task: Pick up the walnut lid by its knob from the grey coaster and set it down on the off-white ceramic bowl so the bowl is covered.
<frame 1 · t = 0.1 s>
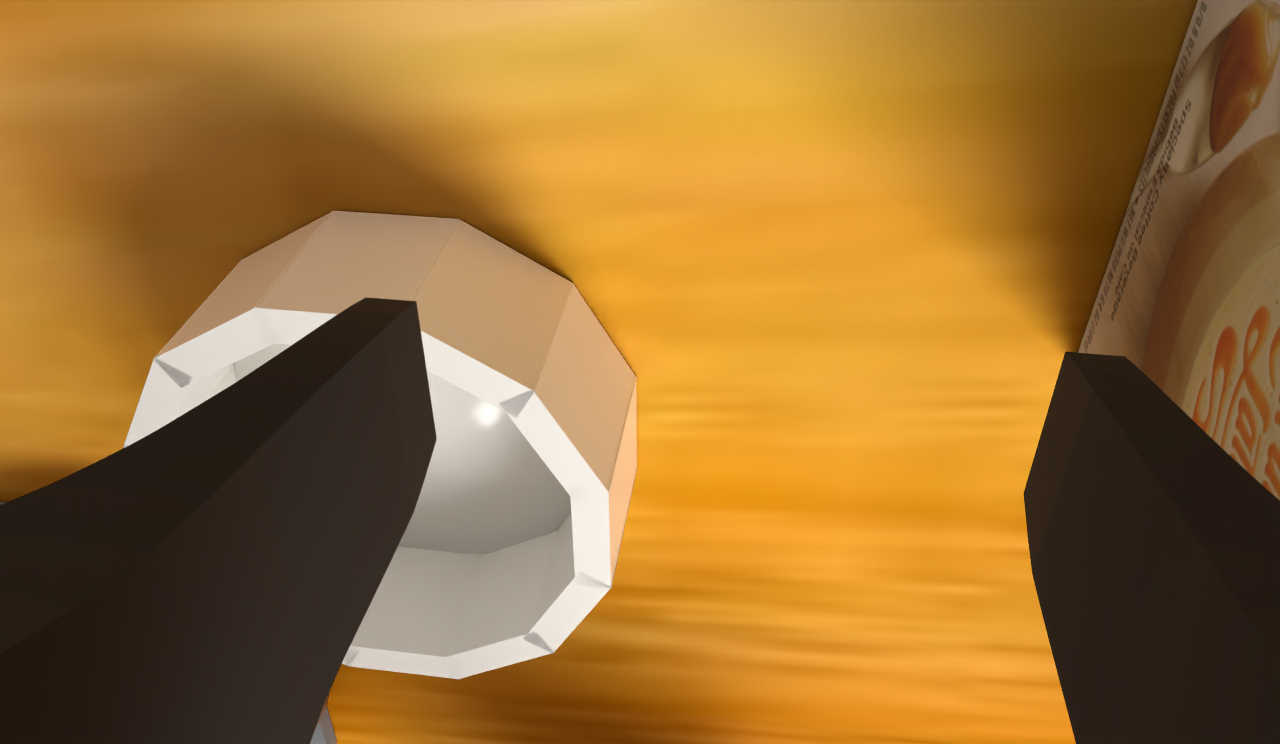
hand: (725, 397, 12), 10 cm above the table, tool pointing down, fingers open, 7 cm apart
bowl: (425, 405, 26), on the table
coaster: (158, 628, 33), on the table
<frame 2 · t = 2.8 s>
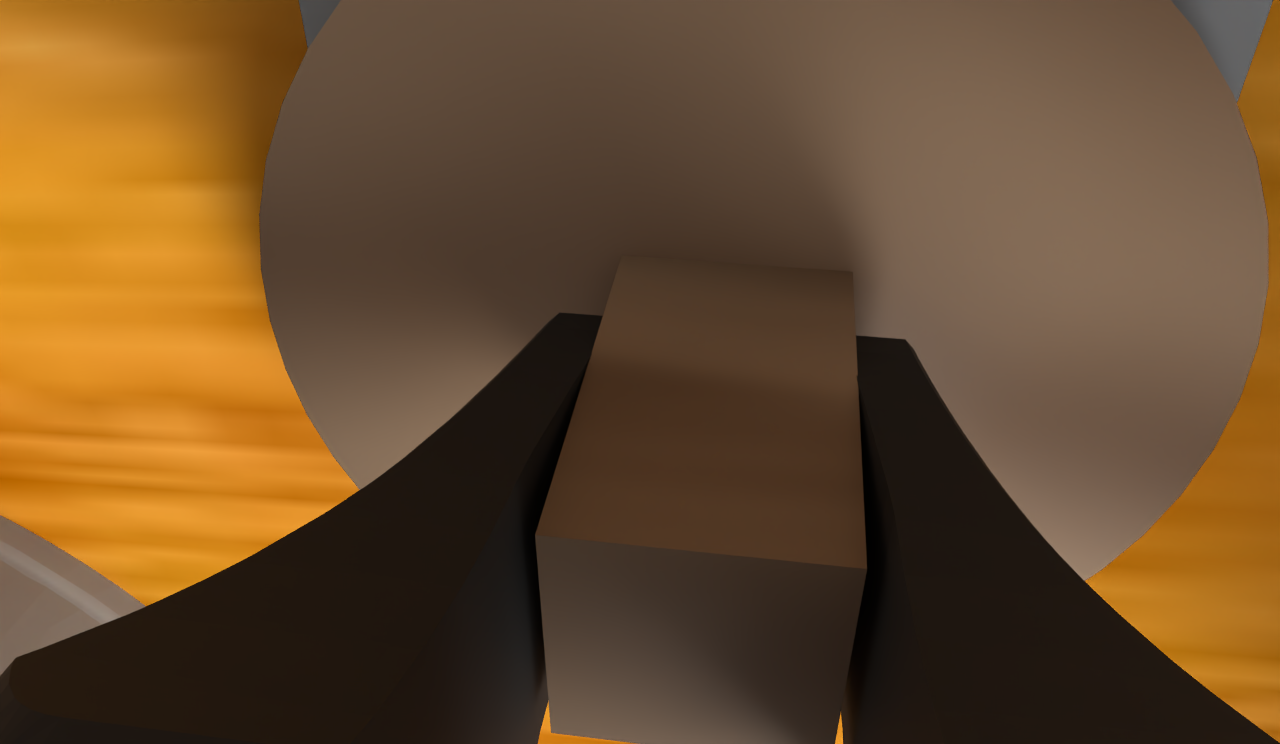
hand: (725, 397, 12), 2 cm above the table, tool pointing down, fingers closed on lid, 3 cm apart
lid: (734, 321, 13), point 1 cm above the table, touching coaster, gripper
coaster: (737, 296, 14), on the table
when the fingers open (7 cm above the table, at t = 5.1 s): lid stays where it is, resting on bowl.
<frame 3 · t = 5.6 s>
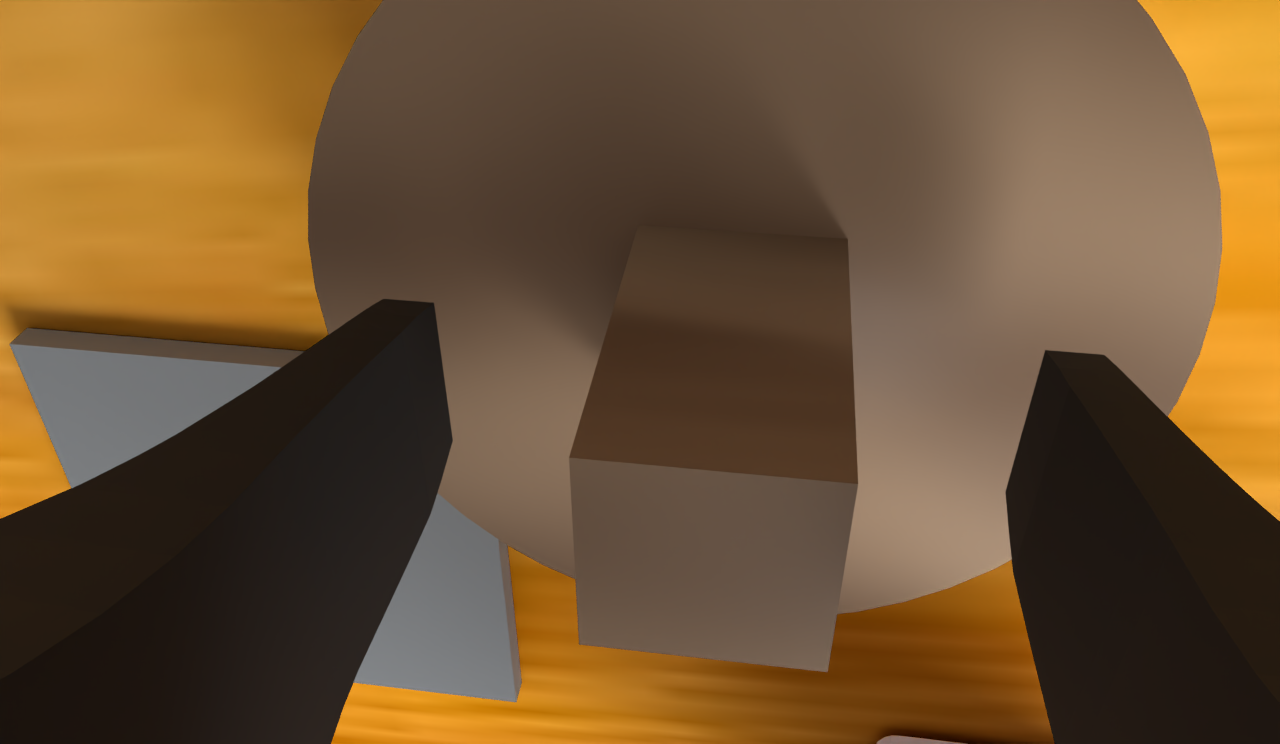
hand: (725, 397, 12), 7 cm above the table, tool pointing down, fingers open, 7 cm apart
lid: (740, 288, 14), point 4 cm above the table, touching bowl
coaster: (298, 522, 24), on the table
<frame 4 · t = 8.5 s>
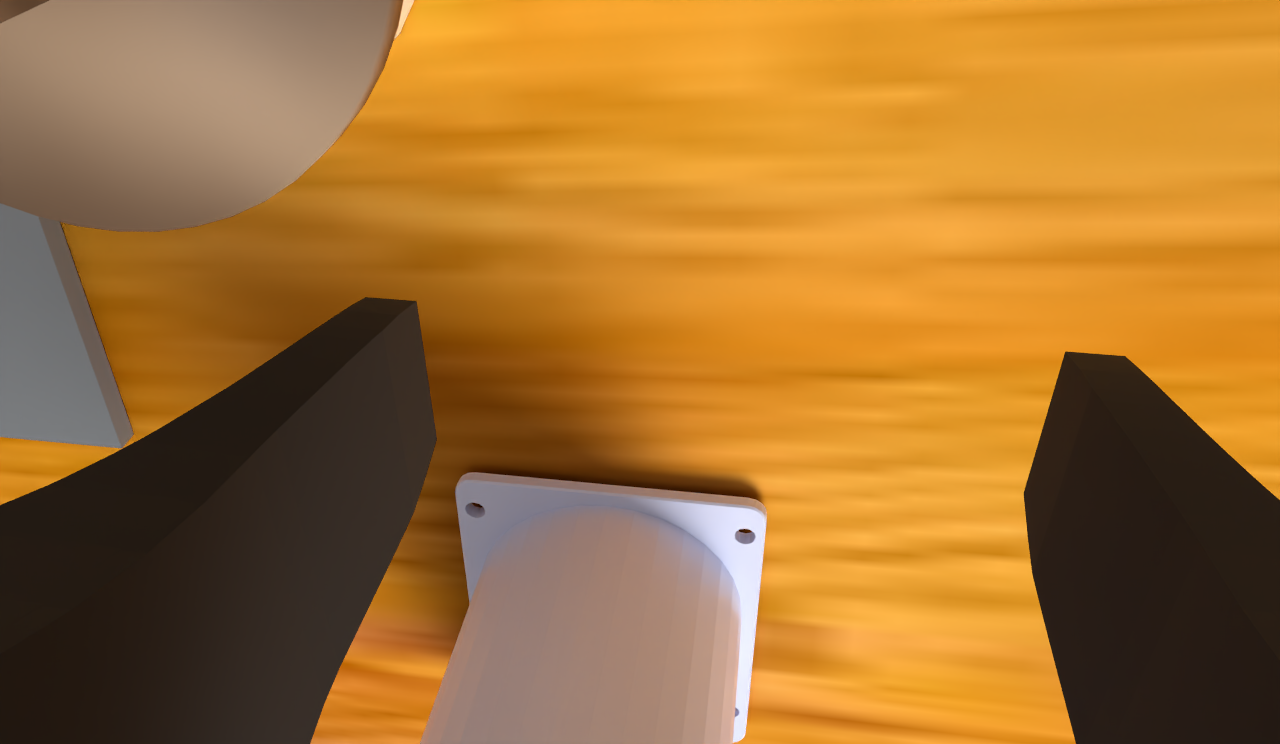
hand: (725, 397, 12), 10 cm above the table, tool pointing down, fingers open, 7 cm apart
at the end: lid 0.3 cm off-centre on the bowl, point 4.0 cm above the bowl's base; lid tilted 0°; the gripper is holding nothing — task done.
